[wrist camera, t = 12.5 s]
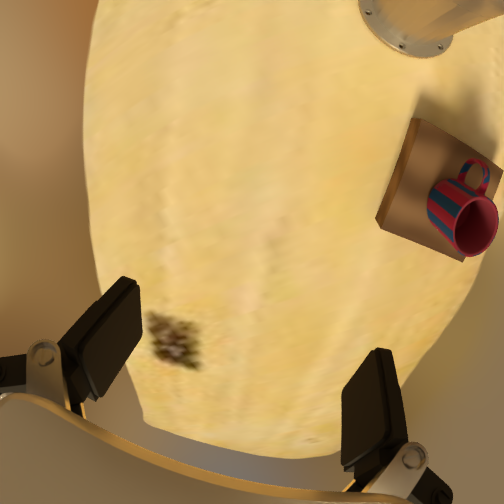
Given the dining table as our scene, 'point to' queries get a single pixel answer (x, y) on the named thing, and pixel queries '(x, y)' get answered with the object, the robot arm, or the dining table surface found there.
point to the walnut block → (428, 183)
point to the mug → (464, 212)
